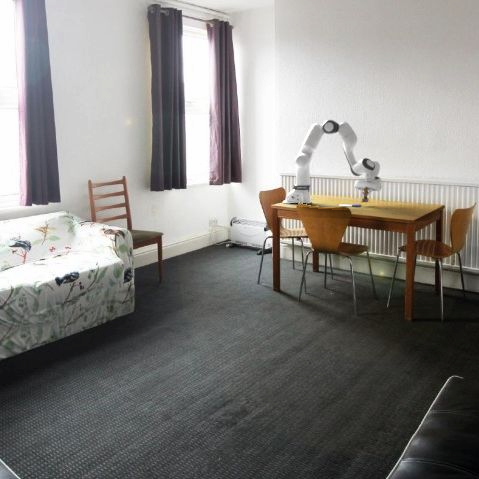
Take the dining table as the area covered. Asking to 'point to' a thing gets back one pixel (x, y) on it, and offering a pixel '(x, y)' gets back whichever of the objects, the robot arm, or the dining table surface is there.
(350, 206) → the print sheet
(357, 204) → the ink pad
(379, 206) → the dining table surface
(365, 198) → the stamp
